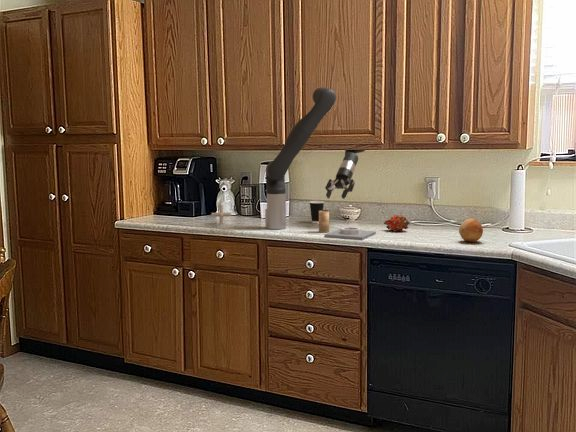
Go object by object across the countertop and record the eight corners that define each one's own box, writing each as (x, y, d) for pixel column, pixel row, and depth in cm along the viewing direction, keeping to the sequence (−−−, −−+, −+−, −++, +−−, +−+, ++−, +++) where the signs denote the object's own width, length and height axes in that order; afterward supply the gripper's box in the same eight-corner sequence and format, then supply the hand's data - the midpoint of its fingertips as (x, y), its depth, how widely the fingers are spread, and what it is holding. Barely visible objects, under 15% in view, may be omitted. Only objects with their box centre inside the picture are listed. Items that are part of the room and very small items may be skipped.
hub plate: (324, 237, 270) (324, 230, 269) (339, 231, 285) (339, 224, 285) (362, 240, 261) (362, 232, 261) (376, 233, 277) (376, 227, 277)
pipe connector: (231, 222, 317) (231, 203, 316) (230, 225, 308) (230, 205, 306) (212, 222, 317) (212, 203, 316) (210, 225, 307) (210, 206, 306)
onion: (454, 242, 255) (454, 218, 254) (466, 239, 262) (466, 216, 261) (475, 244, 248) (476, 220, 247) (486, 241, 255) (487, 218, 254)
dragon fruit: (410, 235, 282) (385, 237, 287) (412, 223, 288) (388, 225, 293) (405, 222, 277) (380, 224, 282) (408, 210, 283) (383, 212, 288)
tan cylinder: (317, 232, 283) (317, 210, 281) (321, 231, 287) (321, 209, 286) (326, 233, 281) (326, 210, 279) (330, 231, 285) (330, 209, 283)
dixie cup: (306, 222, 316) (306, 201, 315) (319, 221, 320) (319, 200, 319) (314, 224, 309) (314, 202, 308) (327, 222, 313) (327, 202, 312)
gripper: (330, 166, 300) (319, 192, 292) (355, 166, 291) (344, 193, 284) (336, 176, 305) (326, 201, 297) (361, 176, 296) (351, 202, 289)
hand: (335, 197), depth 291 cm, fingers open, 8 cm apart
